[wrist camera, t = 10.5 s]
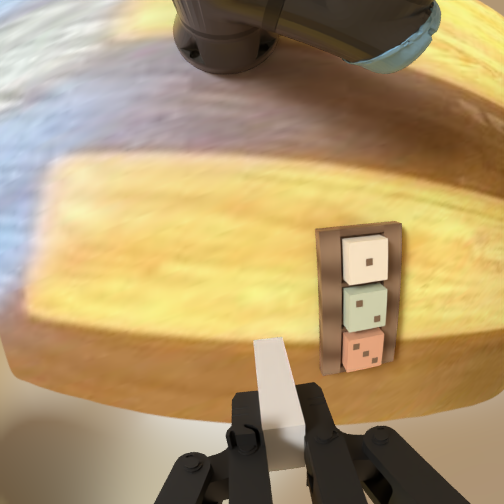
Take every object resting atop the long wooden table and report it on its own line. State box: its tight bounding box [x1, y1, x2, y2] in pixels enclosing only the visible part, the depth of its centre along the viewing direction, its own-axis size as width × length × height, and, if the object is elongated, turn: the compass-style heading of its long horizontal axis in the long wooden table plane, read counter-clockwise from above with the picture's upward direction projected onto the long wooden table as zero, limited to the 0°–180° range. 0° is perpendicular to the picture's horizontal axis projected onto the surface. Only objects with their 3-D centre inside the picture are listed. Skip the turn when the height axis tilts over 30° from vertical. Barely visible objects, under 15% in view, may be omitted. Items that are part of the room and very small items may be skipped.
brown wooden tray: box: [315, 221, 402, 376], centre depth 46 cm, size 24×13×2 cm, turn 6°
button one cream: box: [342, 235, 388, 285], centre depth 43 cm, size 6×6×3 cm
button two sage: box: [343, 283, 387, 333], centre depth 45 cm, size 6×6×3 cm
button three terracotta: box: [342, 327, 384, 372], centre depth 47 cm, size 6×6×3 cm
